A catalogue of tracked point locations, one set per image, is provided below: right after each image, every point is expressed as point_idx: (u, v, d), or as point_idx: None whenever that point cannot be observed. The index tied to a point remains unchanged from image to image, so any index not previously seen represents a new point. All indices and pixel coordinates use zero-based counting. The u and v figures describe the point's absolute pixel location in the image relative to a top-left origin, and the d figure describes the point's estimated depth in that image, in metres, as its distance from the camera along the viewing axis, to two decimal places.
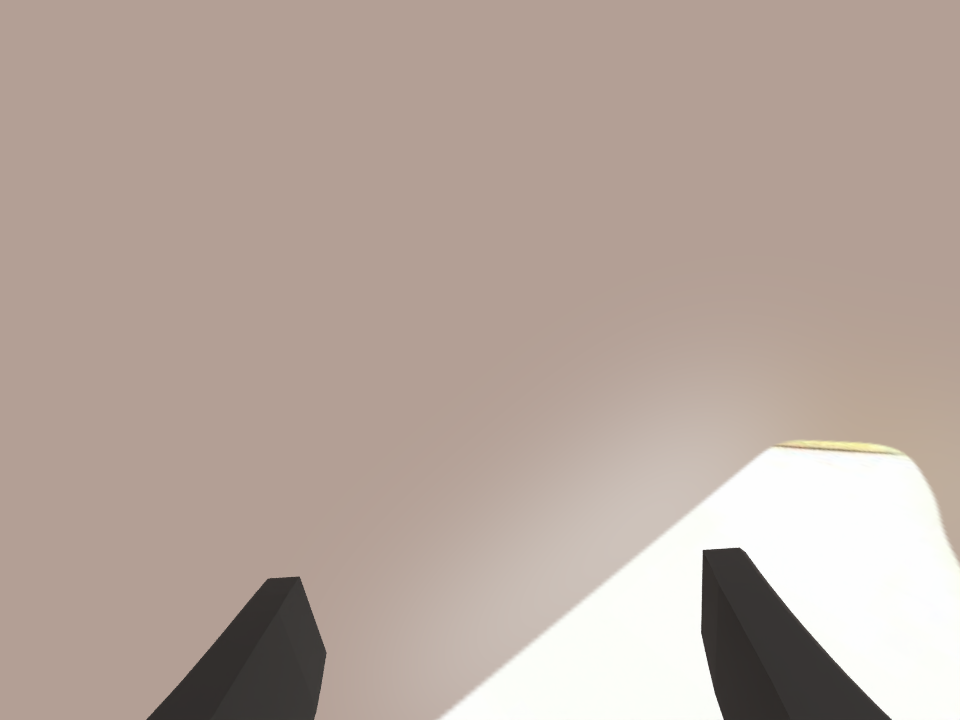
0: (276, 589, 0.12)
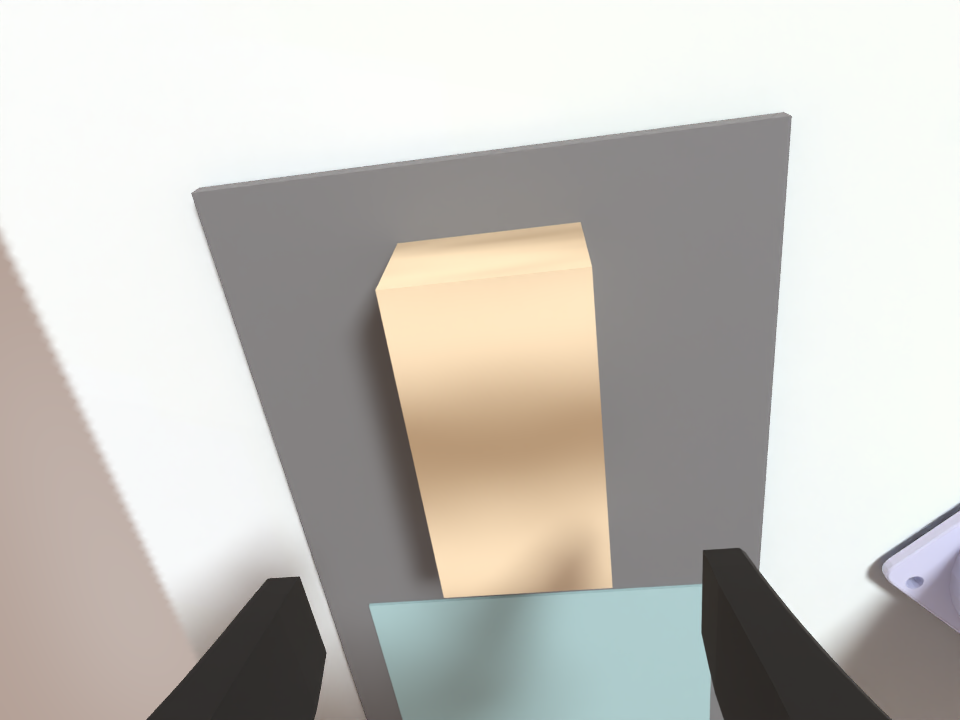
0: (276, 589, 0.12)
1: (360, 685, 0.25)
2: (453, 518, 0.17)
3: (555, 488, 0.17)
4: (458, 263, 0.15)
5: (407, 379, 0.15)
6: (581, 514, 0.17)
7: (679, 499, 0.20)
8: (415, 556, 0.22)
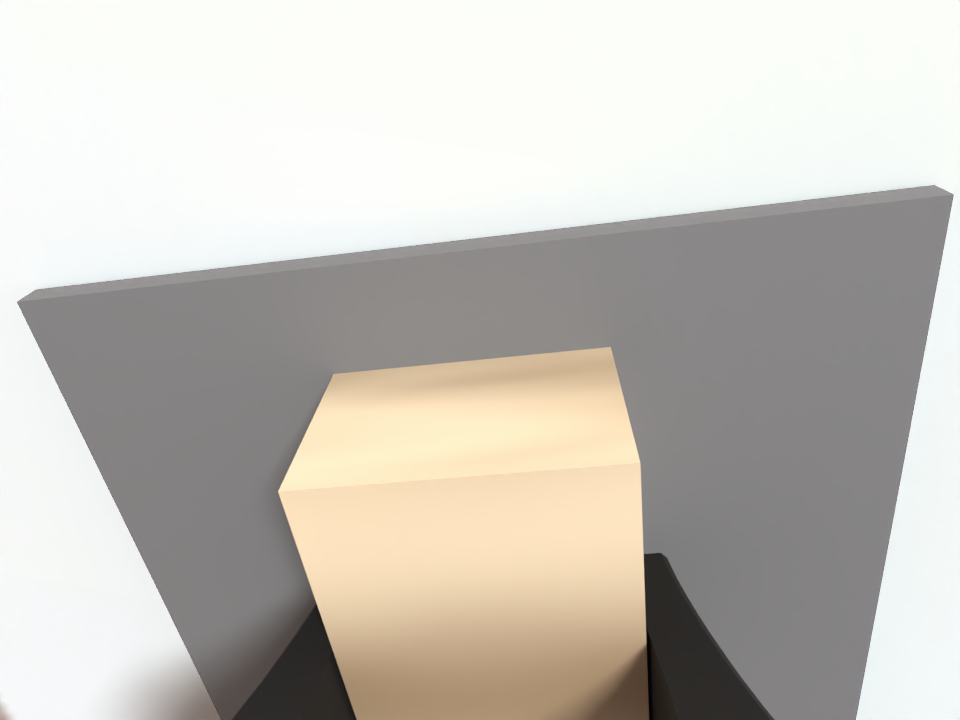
0: None
1: None
2: None
3: None
4: (418, 432, 0.09)
5: (339, 612, 0.10)
6: None
7: None
8: None
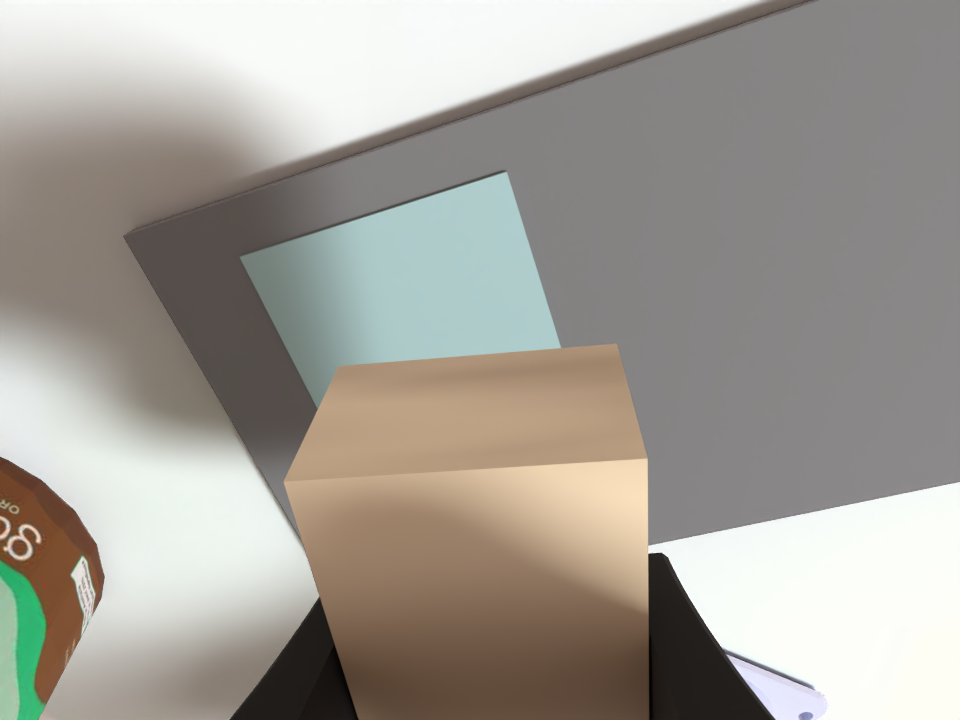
0: None
1: (330, 174, 0.17)
2: None
3: None
4: (424, 425, 0.09)
5: (341, 604, 0.10)
6: None
7: (722, 466, 0.20)
8: (605, 221, 0.17)
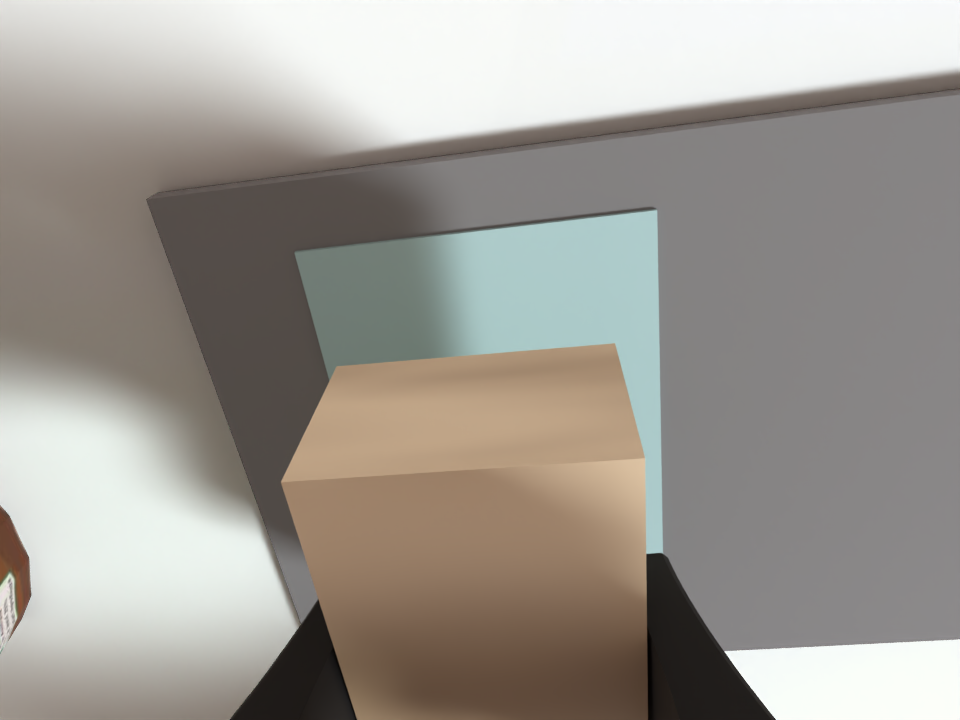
0: None
1: (436, 171, 0.13)
2: None
3: None
4: (421, 425, 0.09)
5: (339, 604, 0.10)
6: None
7: (802, 581, 0.18)
8: (755, 289, 0.14)
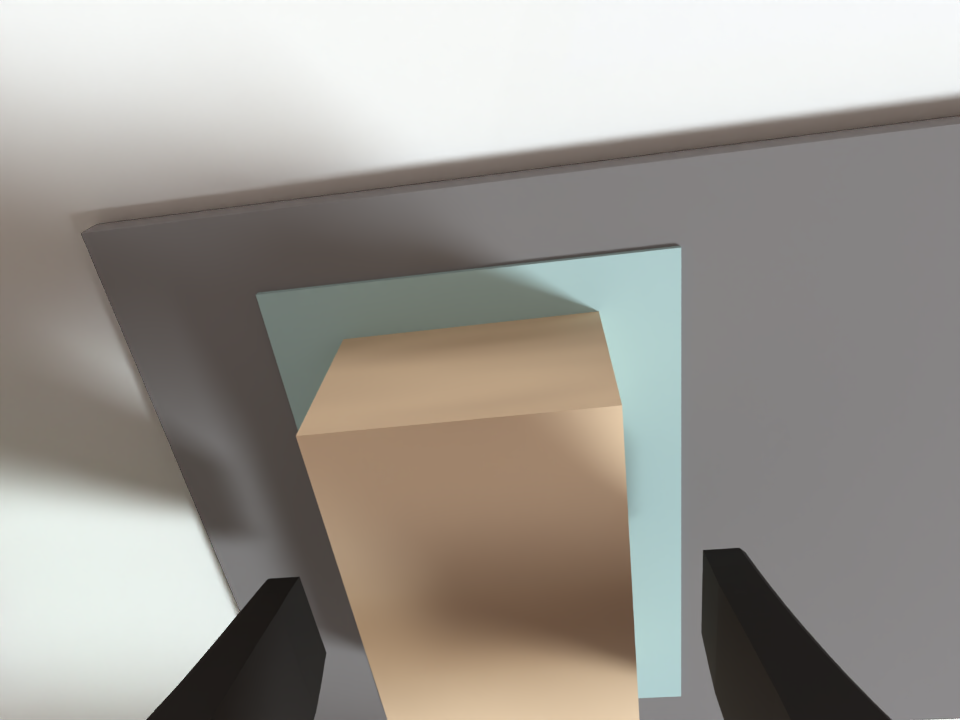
0: (275, 589, 0.12)
1: (420, 202, 0.11)
2: (424, 718, 0.13)
3: (566, 685, 0.12)
4: (422, 385, 0.10)
5: (350, 551, 0.11)
6: (601, 715, 0.12)
7: (837, 655, 0.16)
8: (795, 338, 0.12)
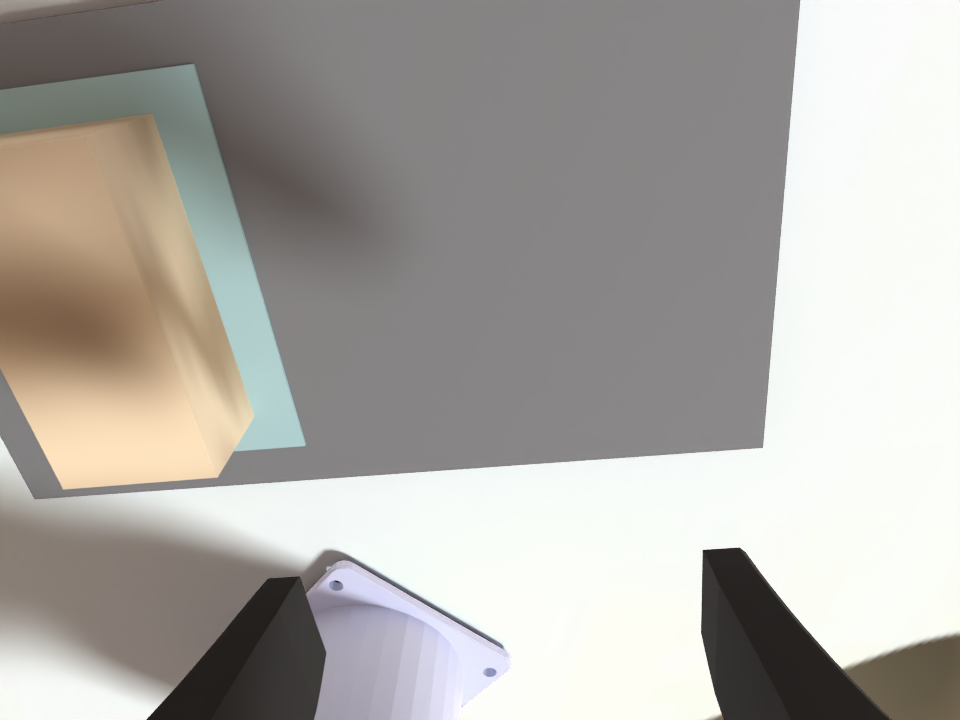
0: (275, 589, 0.12)
1: (15, 30, 0.17)
2: (44, 404, 0.18)
3: (129, 371, 0.17)
4: None
5: None
6: (162, 399, 0.18)
7: (408, 407, 0.21)
8: (292, 135, 0.17)
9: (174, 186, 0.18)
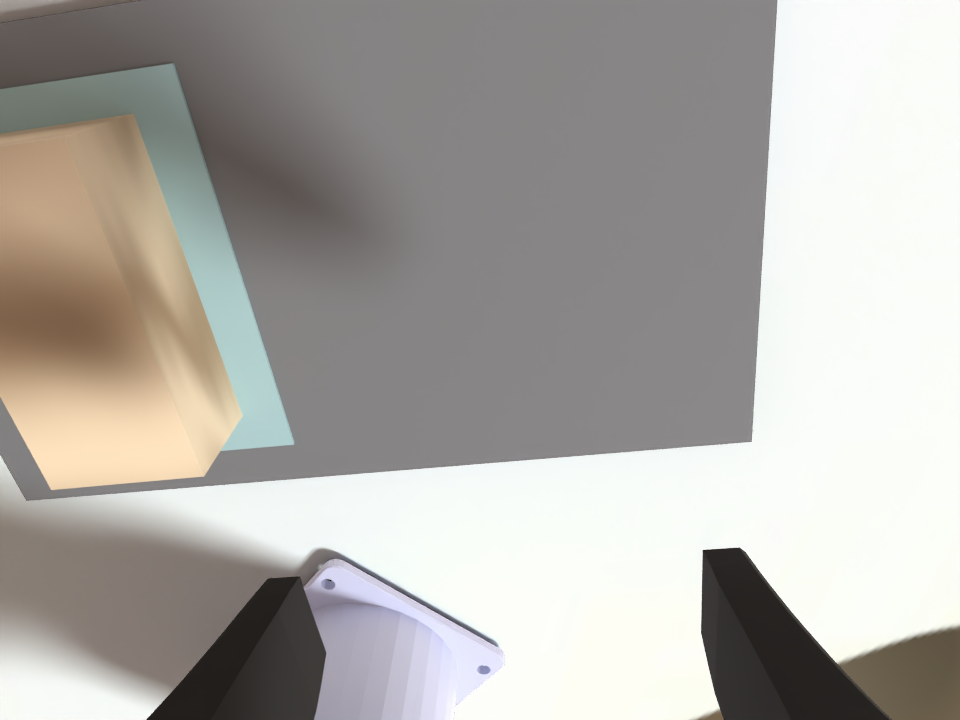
0: (276, 589, 0.12)
1: None
2: (30, 405, 0.18)
3: (113, 371, 0.17)
4: None
5: None
6: (147, 398, 0.18)
7: (396, 405, 0.21)
8: (273, 133, 0.17)
9: (157, 186, 0.18)
